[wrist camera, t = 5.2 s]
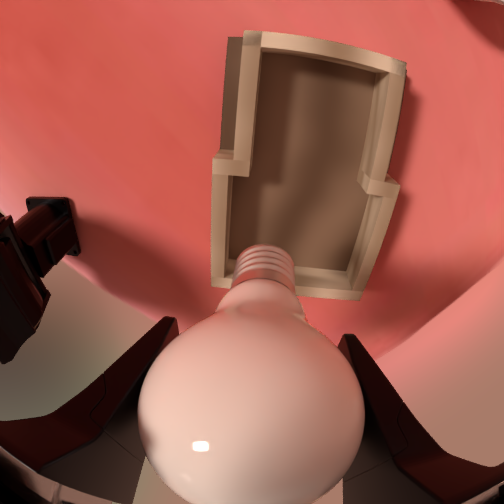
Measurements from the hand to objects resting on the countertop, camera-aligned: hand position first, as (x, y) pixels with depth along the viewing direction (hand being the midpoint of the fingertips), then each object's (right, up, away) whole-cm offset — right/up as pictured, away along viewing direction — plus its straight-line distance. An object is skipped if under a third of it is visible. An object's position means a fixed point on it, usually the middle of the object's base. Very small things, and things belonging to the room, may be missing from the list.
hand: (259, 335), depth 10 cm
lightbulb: (0, +3, +4) cm, 5 cm away
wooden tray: (+4, +9, +10) cm, 14 cm away
